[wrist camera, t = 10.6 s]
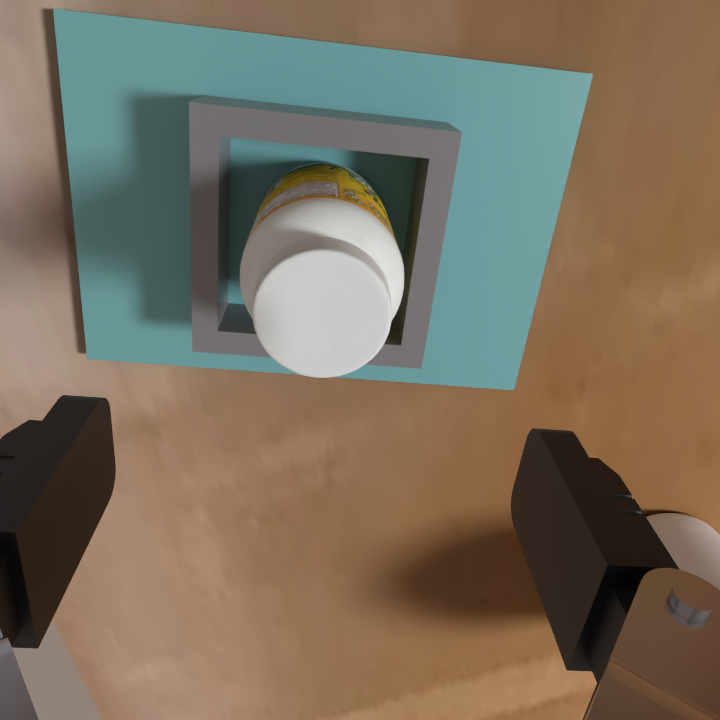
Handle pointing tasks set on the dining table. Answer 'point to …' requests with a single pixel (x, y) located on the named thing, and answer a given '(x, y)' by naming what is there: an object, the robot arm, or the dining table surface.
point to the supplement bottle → (322, 271)
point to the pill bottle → (690, 544)
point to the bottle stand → (293, 149)
